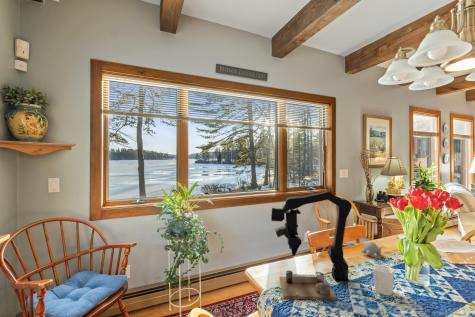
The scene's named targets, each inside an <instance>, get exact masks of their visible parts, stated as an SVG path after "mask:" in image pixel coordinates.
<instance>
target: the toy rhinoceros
mask: <svg viewBox="0 0 475 317" xmlns="http://www.w3.org/2000/svg"><path fill="white" fill-rule="evenodd" d="M382 251H383V250H382V247H379V245H377V244H376V243H375V242H373V241H369V240H368V241H366V242H365V243H364V245H363V248H362V249H361V253H362V254H365V255H367V256H370V258H375V254H376V255H377V256H381V255H382Z"/></svg>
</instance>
